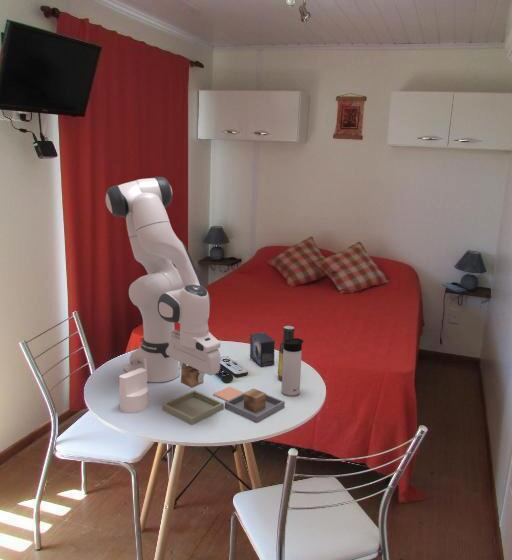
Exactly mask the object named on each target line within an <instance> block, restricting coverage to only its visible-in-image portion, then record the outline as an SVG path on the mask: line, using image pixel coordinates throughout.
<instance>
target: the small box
mask: <svg viewBox="0 0 512 560" xmlns="http://www.w3.org/2000/svg"><path fill="white" fill-rule="evenodd" d="M249 338H250V339H249V359H250V360H252V361H253V362H254V363H255V364H256V365H257V366H258V367H260V368H264V367H265V368H266V367H270V366H274V365H275V346H276V345H275V344H276V343H275V342H276V340H275V339H273V338H272V337H271V336H270V335H268V334H267V333H265V332H256V333H255V332H254V333H250V336H249Z"/></svg>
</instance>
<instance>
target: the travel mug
mask: <svg viewBox="0 0 512 560" xmlns="http://www.w3.org/2000/svg"><path fill="white" fill-rule="evenodd" d="M303 343H304V339H302V338H297V337H294V338H291V339H287V340H285V341H284V348H283V370H282V380H281V394H282V395H283V396H285V397H290V398H294V397H298V396H299V395H300V391H301V374H302V373H301V371H302V370H301V369H302V353H303V352H302V349H303Z"/></svg>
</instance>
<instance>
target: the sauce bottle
mask: <svg viewBox="0 0 512 560" xmlns="http://www.w3.org/2000/svg"><path fill="white" fill-rule="evenodd" d="M294 334H295V327H294V326H291V325H285V326H283V337H282V340H281V341H280V343H279V348H278V349H279V351H278V362H277V363H278V364H277V378H278V380H280V381H282V370H283V348H284V341H285V340H287V339H291V338H295V335H294Z"/></svg>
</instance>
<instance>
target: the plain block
mask: <svg viewBox="0 0 512 560" xmlns="http://www.w3.org/2000/svg"><path fill="white" fill-rule="evenodd" d="M252 389H253V390H251V389H250V390H251V391H249V390H247V391H248V392H247V391H245V392H246V393H245V392H244V408H245V409H248V410H250V411H252V412H255V413H256V412H258V411H260V410H262V409H264V408H266V394H267V393H266V392H263V391H261V390H258V389H256V388H252Z"/></svg>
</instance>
